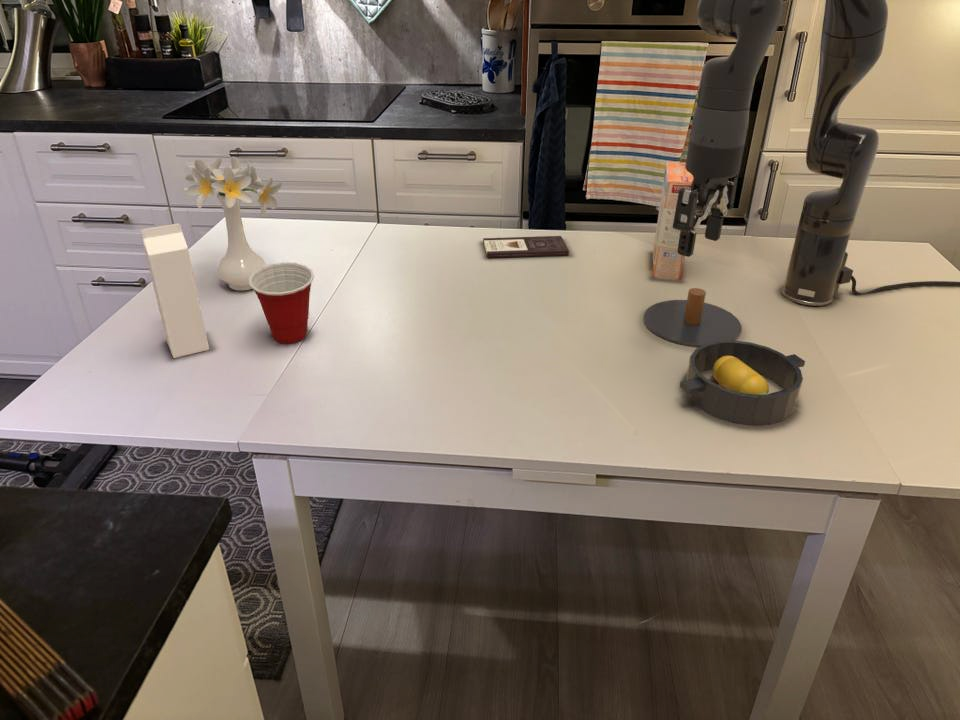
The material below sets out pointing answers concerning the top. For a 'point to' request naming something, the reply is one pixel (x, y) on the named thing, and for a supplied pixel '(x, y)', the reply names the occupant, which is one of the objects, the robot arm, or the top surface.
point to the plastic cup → (284, 299)
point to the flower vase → (233, 213)
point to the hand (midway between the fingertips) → (698, 246)
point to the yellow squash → (739, 376)
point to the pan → (742, 404)
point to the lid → (692, 321)
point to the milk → (175, 289)
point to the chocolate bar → (525, 246)
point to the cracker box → (669, 223)
